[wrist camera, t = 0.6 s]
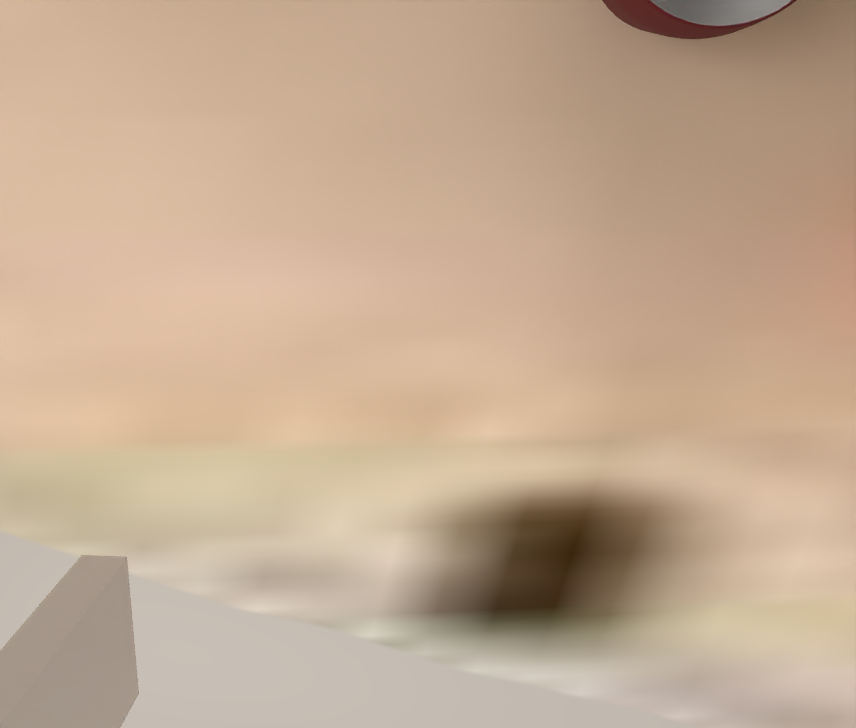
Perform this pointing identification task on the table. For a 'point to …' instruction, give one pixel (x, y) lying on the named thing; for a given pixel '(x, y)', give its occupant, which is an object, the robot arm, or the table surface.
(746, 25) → the mug
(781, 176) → the table surface
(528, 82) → the table surface
